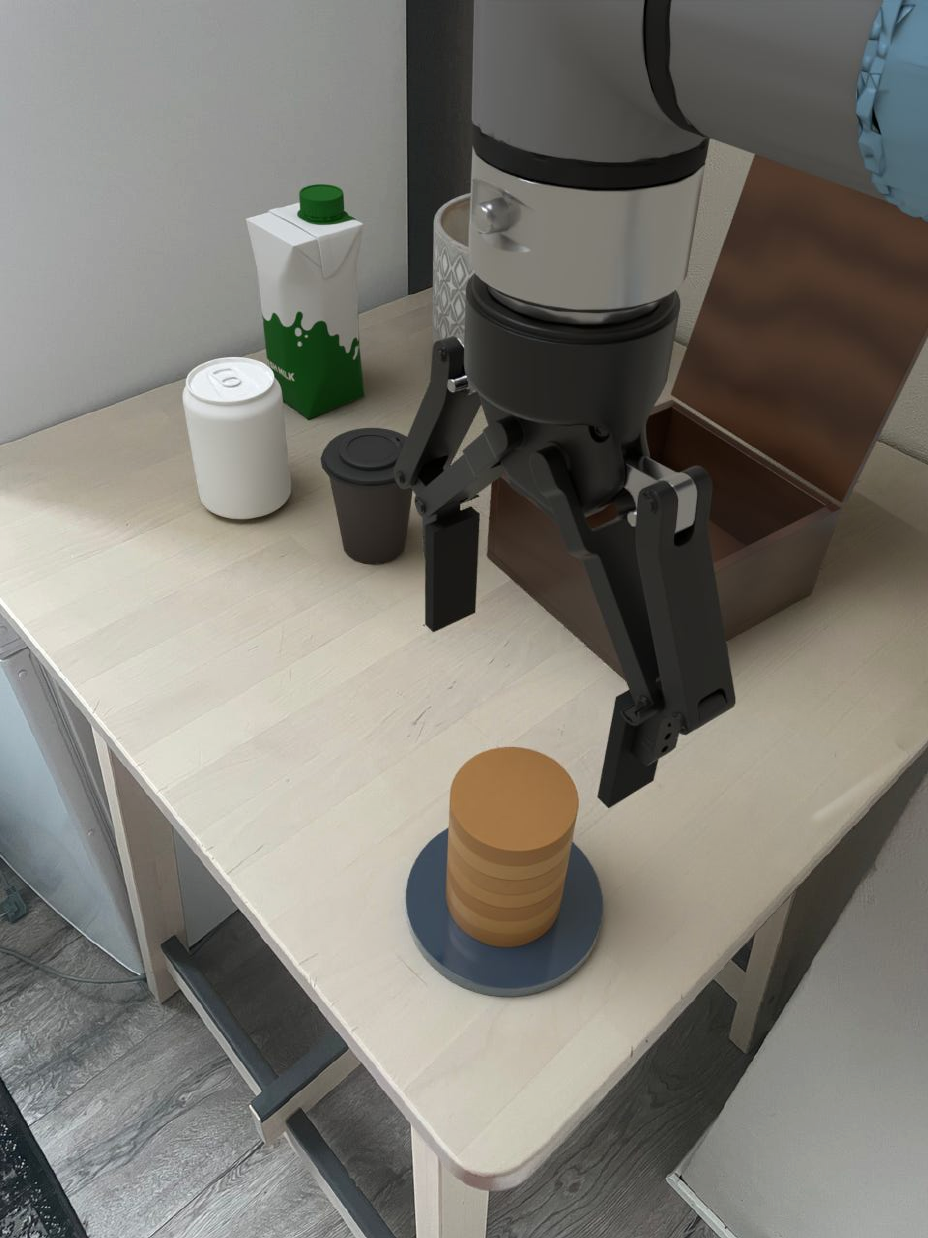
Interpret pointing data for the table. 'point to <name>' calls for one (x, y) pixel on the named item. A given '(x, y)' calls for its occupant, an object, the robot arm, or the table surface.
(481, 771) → the cookies
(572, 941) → the plate
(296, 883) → the table surface
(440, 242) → the planter
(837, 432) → the lid
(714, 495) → the chest
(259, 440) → the beverage can
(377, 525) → the coffee cup
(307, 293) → the milk carton
